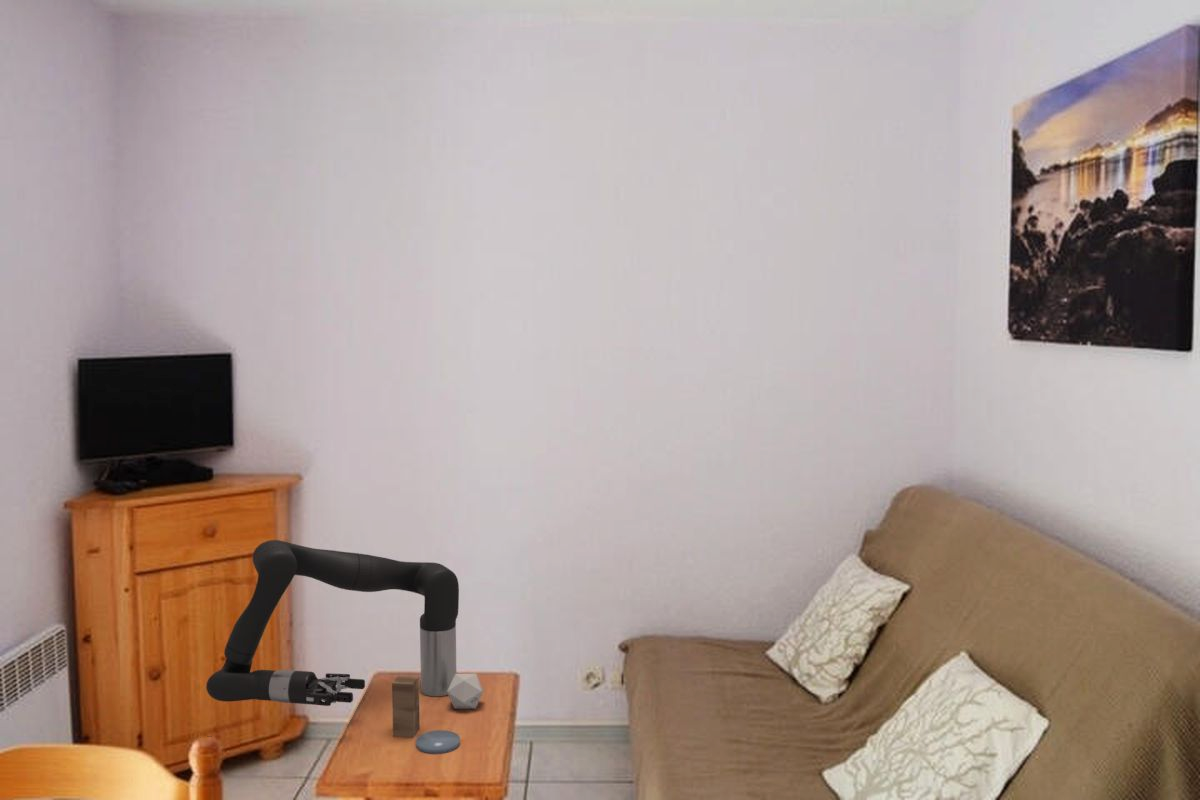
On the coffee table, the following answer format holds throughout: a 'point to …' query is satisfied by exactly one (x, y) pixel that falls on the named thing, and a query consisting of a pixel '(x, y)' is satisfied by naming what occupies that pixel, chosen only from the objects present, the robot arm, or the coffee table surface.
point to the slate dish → (437, 741)
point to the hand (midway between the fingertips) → (358, 690)
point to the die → (465, 691)
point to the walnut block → (405, 706)
